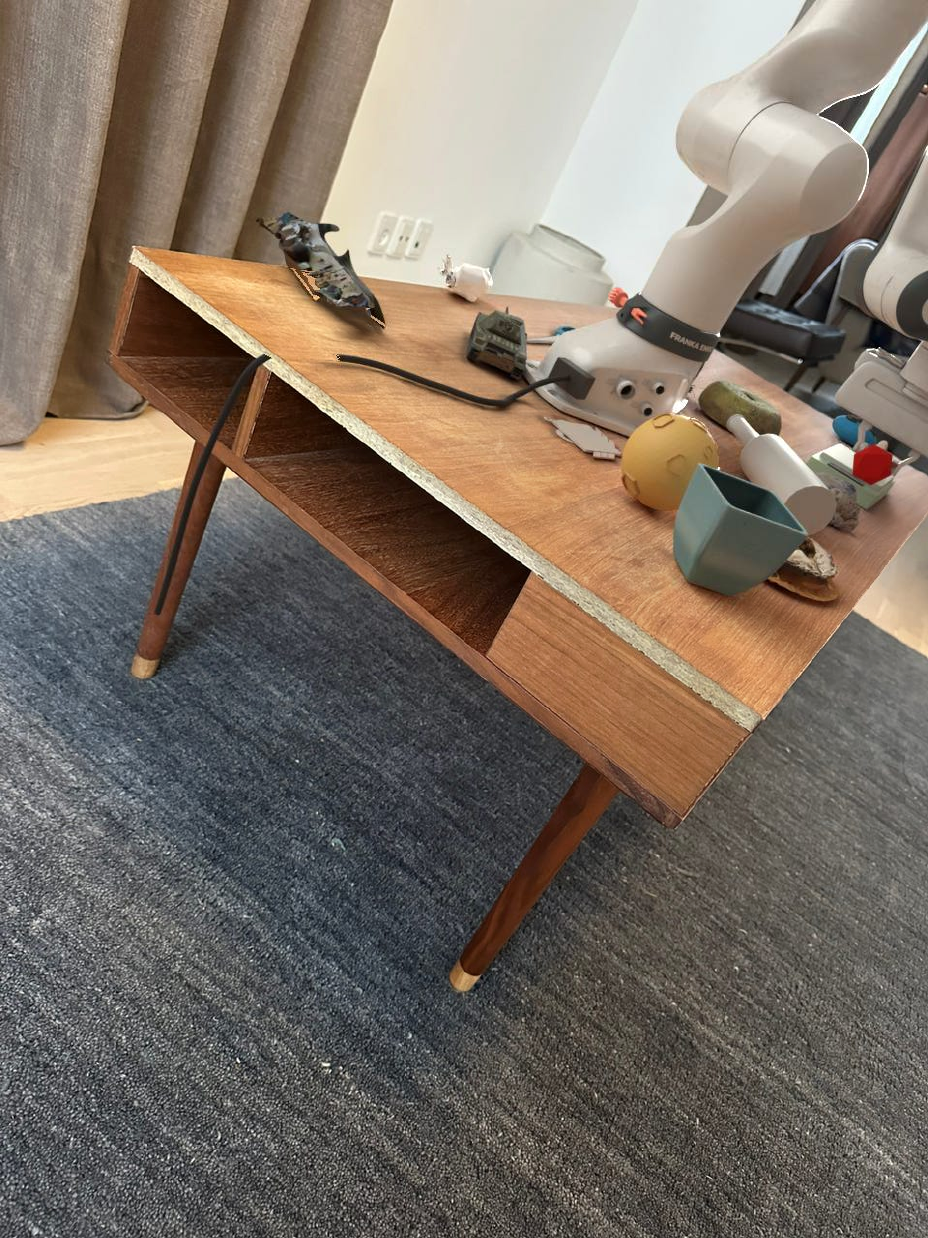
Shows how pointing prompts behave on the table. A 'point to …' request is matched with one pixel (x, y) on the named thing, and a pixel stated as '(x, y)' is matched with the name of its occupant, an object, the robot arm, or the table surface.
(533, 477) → the table surface
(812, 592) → the cake on gold board
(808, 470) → the bottle
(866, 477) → the decorative stake
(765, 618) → the table surface
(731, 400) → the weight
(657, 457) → the stress ball
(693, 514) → the flower pot
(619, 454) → the decorative emblem
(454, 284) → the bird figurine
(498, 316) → the toy tank
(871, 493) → the pale green slotted box
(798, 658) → the table surface
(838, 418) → the ornament
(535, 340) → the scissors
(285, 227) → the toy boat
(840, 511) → the mineral specimen
